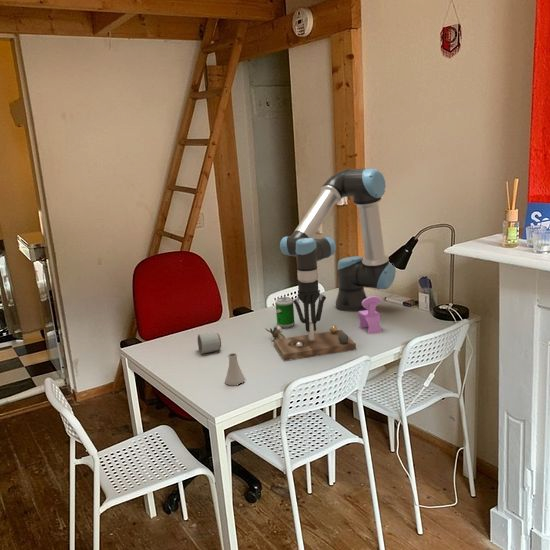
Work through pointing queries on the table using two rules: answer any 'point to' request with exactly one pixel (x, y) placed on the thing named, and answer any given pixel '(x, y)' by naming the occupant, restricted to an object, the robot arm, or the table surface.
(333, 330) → the brass ball
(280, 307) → the soda can
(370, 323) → the toy chair
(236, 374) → the flask
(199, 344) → the grey cylinder
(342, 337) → the black rubber ball
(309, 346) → the board
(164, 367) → the table surface
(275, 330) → the eagle figurine
